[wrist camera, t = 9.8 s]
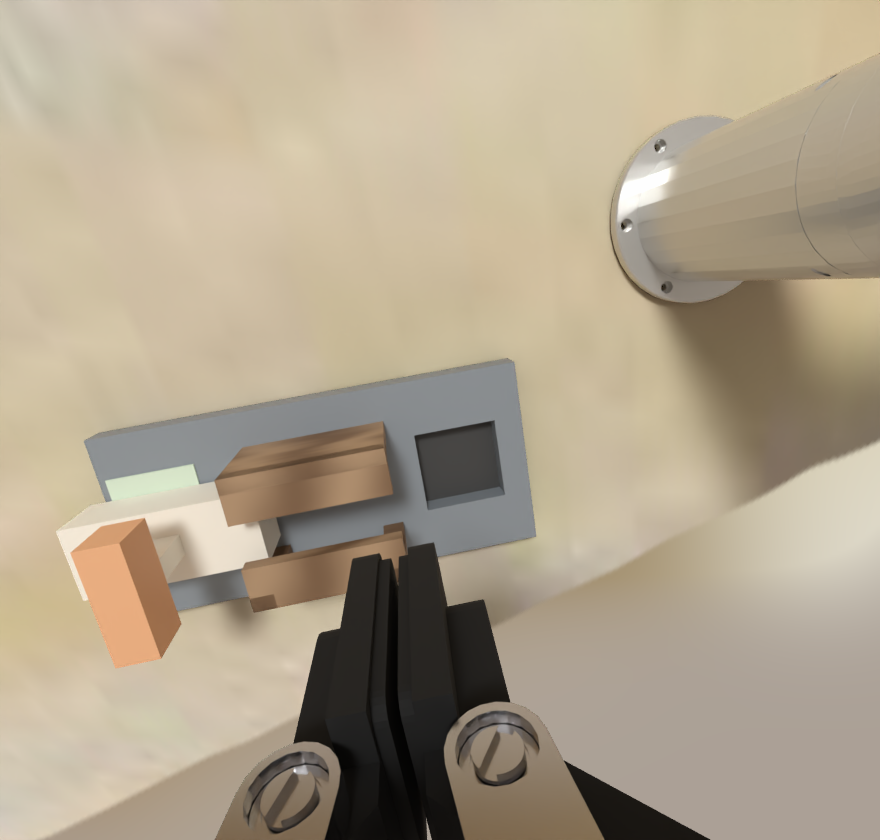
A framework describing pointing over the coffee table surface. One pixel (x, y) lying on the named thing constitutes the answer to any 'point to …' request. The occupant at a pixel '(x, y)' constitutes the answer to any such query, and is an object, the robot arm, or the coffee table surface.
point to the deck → (408, 455)
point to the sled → (154, 561)
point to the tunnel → (309, 508)
